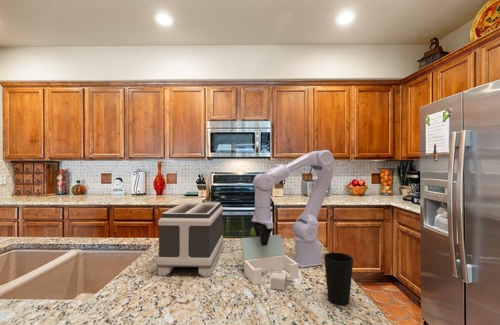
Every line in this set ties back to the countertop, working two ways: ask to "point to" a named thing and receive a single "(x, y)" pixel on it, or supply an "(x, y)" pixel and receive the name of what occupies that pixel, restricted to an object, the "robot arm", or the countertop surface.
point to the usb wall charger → (280, 281)
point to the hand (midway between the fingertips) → (262, 243)
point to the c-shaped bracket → (269, 267)
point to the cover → (262, 247)
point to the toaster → (190, 237)
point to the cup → (338, 277)
